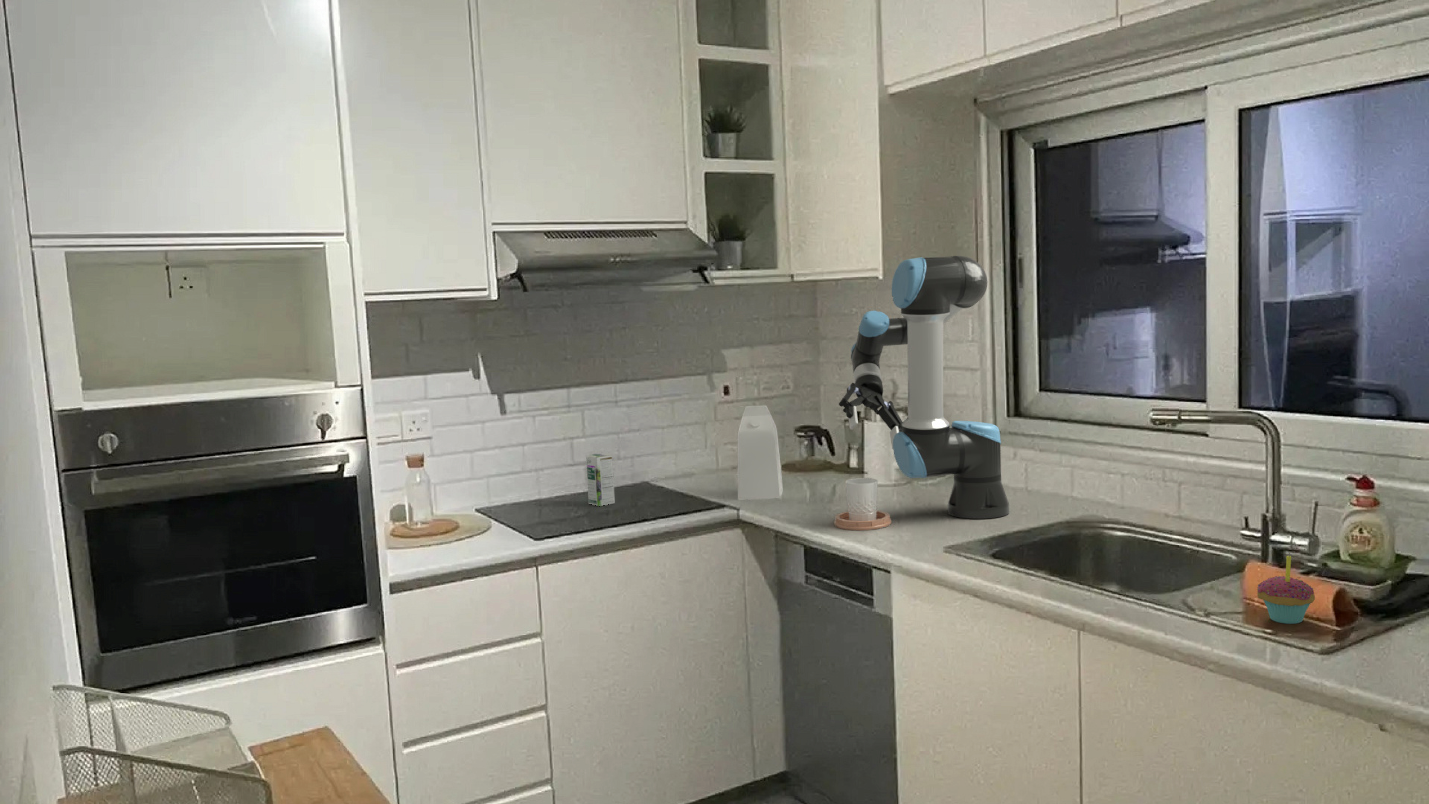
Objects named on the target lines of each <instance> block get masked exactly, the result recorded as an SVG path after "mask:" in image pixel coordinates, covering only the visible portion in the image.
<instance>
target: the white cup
mask: <svg viewBox="0 0 1429 804" xmlns="http://www.w3.org/2000/svg"><path fill="white" fill-rule="evenodd" d="M844 482H845V483H844V484H845V495H846V504H847V510H848V511H849V520H850V521H871V520H876V519H877V511H878V479H876V478H872V477H871V478H870V477H869V478H868V477H857V478H856V477H855V478H850V479H846V480H845V481H844ZM848 511H847V512H848Z"/></svg>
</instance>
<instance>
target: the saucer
mask: <svg viewBox="0 0 1429 804" xmlns="http://www.w3.org/2000/svg"><path fill="white" fill-rule="evenodd" d="M876 511H877V519H876V520H871V521H850V520H849V511H843V512H842V511H841V512H840V513H838V514H835V519H834V521H833V522H834V523H833V524H834V527H836V528H838V529H841V530H847V531H872V530H871V529H874V530H878V529H877V528H881V529H883V528H882V527H885V528H888V527H889V525H890V524H891V525H892V518H891V516H890V513H889V512H887V511H882V510H876ZM891 525H890V526H891ZM887 526H888V527H887Z"/></svg>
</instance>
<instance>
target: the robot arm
mask: <svg viewBox="0 0 1429 804" xmlns="http://www.w3.org/2000/svg"><path fill="white" fill-rule="evenodd" d="M896 267H897V268H896V269H895V270H894V274H893V277H892V282H891V283H892V284H891V296H892V301H893V304H894V305H895V307H897V308H899V309H900V315H901V316H902V317H893V318H890V317H889V316H888V315H887V314H886V313H884V312H882V311H877V310H869V311H867V312H865V313H864V314H862V315H863V316H862V318H861V319H860V323H859V326H858V332H857V338H856V342H855V343H854V344H853V345H852V347H851V349H850V352H851V354H850V359H851V366H852V373H853V381H854V382H851V383H850V385H849V386H848V387H847V388H846V393H845V395H844V396H843V397H842V399H841V400H840V401H839V402H838V406H839V407H843V409H842V411H843V412H844V413H845V414H846V415H845V416H846V418H848V426H849V430H851V431H853V430H854V429H855V428H856V427H857V425H859V420H858V411H857V407H858V406H861V405H864V407H865V408H868V409H870V410H872V411H874V413H875V414H876V415H877V416H878V415H879V416H880V418H881V420H882V421H883V422H884V423H885V424H886V427H888V429H890V431H889V435H890V436H889V437H890V443H891V444H890V445H891V449H892V450H893V455H894V459H895V462H896V464H897V467H898V469H899V470H900V471H901V473H902V474H903V475H904V477H907V478H909V479H919V478H921V479H926V478H930V477H931V478H932V477H941V476H950V475H953V485H952V488H951V492H950V496H949V498H948V503H947V514H948V515H950V516H953V517H957V518H962V519H973V520H974V519H977V520H979V519H980V520H981V519H984V520H985V519H995V518H1001V517H1005V516H1008V514H1010V503H1009V502H1010V501H1009V499H1008V497H1007V494H1006V491H1005V489H1004V488H1005V487H1004V486H1003V482H1002V455H1001V454H1002V453H1001V452H1002V451H1001V444H1002V441H1001V433H1000V427H998V426H997V425H995V424H993V423H989V422H981V421H973V420H972V421H968V420H954V421H952V422H951V425H950V422H949V421H948V420H947V419H946V418H945V417H944V325H945V324H946V323H947V322H948V321H949V320H951V319H952V318H953V317H954V316H955V315H957V314H959V313H960V312H961V311H962V310H963V309H970V308H972V307H973V306H975V305H976V304H978V302H980V301H981V299H982V298H983V297H984V295H986V292H987V288H988V276H987V273H986V271H985V269H984V267H983V266H981V264H980V263H979V262H977V261H976V260H975V259H973V258H970V257H969V256H965V255H953V256H950V255H949V256H933V257H932V256H931V257H921V256H920V257H915V258H909V259H908V258H907V259H904V260H902V261H901V262H900V263H899V264H898V266H896ZM903 345H907V418H905V420H904V421H903V420H902V419H901V417H900V415H899V413H898V412H897V409H896V408H895V407H894V406H895V405H894V403H893V401H892V400H889V401H885V399H884V397H883V393H884V387H883V378H882V374H881V373H882V372H881V365H880V359H881V355H882V352H883V348H884V347H888V346H890V347H891V346H903ZM853 394H855V395H856V398H854V399H853V400H851V401H849V399H850V398H851V397H852V396H853Z"/></svg>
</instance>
